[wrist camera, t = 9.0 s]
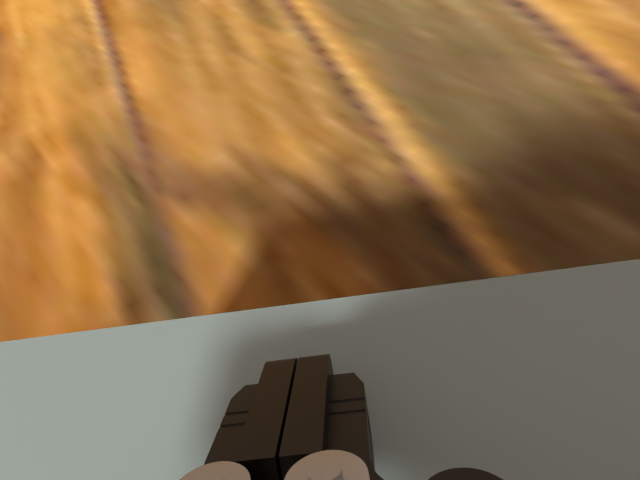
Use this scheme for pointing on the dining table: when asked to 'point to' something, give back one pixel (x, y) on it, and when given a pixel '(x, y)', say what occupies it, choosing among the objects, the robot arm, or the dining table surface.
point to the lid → (370, 367)
